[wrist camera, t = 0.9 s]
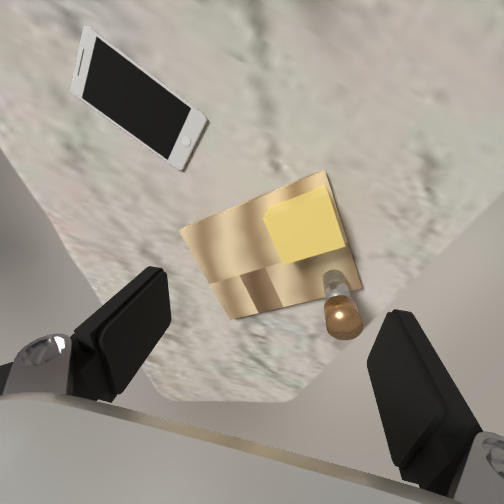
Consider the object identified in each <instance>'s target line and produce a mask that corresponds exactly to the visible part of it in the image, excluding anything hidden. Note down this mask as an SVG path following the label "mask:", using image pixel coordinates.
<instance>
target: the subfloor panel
mask: <svg viewBox="0 0 504 504" xmlns="http://www.w3.org/2000/svg"><path fill="white" fill-rule="evenodd" d="M323 186H325V187H326V189H327V191H328V194H329V197H330V200H331V203H332V206H333V209H334V212H335V216H336V219H337V222H338V225H339V228H340V231H341V234H342V237H343V240H344V244H345V247H342V248H339V249H336V250H332V251H329V252H325V253H322V254H319V255H315V256H312V257H309V258H305V259H302V260H299V261H295V262H292V263H289V264H285V265H283V264H282V261H281V259H280V257H279V254H278V252H277V250H276V248H275V245H274V243H273V241H272V238H271V236H270V234H269V231H268V229H267V227H266V225H265V222H264V220H263V217H264V215H265V212H266V210H267V208H269V207H272V206H274V205H277V204H279V203H282V202H284V201H287V200H289V199H292V198H295V197H297V196H300V195H302V194H305V193H307V192H310V191H313V190H315V189H318V188H320V187H323ZM179 232H180V233H181V235H182V237H183V239H184V240H185V242H186V244H187V246H188V247H189V249H190V251H191V253H192V254H193V256H194V258H195V260H196V261H197V263H198V265H199V266H200V268H201V270H202V272H203V273H204V275H205V277H206V279H207V280H208V282H209V284H210V286H211V287H212V289H213V291H214V293H215V294H216V296H217V298H218V300H219V301H220V303H221V305H222V306H223V308H224V310H225V312H226V313H227V315H228V317H229V319H230V320H231V319H236V318H240V317H244V316H248V315H252V314H257V313H261V312H265V311H269V310H274V309H278V308H282V307H286V306H290V305H295V304H299V303H303V302H307V301H311V300H316V299H320V298H324V297H325V292H324V285H323V275H324V274H325V273H326V272H327V271H329V270H339V271H341V272H342V273H343V274H344V276H345V279H346V283H347V286H348V289H349V291H354V290H358V289H362V286H361V283H360V280H359V277H358V273H357V270H356V267H355V264H354V261H353V258H352V254H351V251H350V248H349V245H348V242H347V238H346V235H345V232H344V229H343V226H342V223H341V219H340V216H339V213H338V210H337V207H336V204H335V200H334V197H333V194H332V191H331V188H330V185H329V181H328V178H327V175H326V172H325V170H322V171H320V172H317V173H315V174H312V175H310V176H307V177H305V178H303V179H300V180H298V181H295V182H293V183H290V184H288V185H286V186H283V187H281V188H278V189H276V190H273V191H271V192H269V193H266V194H264V195H261V196H259V197H256V198H254V199H252V200H249V201H247V202H244V203H242V204H240V205H237V206H235V207H232V208H230V209H227V210H225V211H223V212H220V213H218V214H215V215H213V216H210V217H208V218H206V219H203V220H201V221H198V222H196V223H193V224H191V225H189V226H186V227H184V228H182V229H181V230H180V231H179Z"/></svg>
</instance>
